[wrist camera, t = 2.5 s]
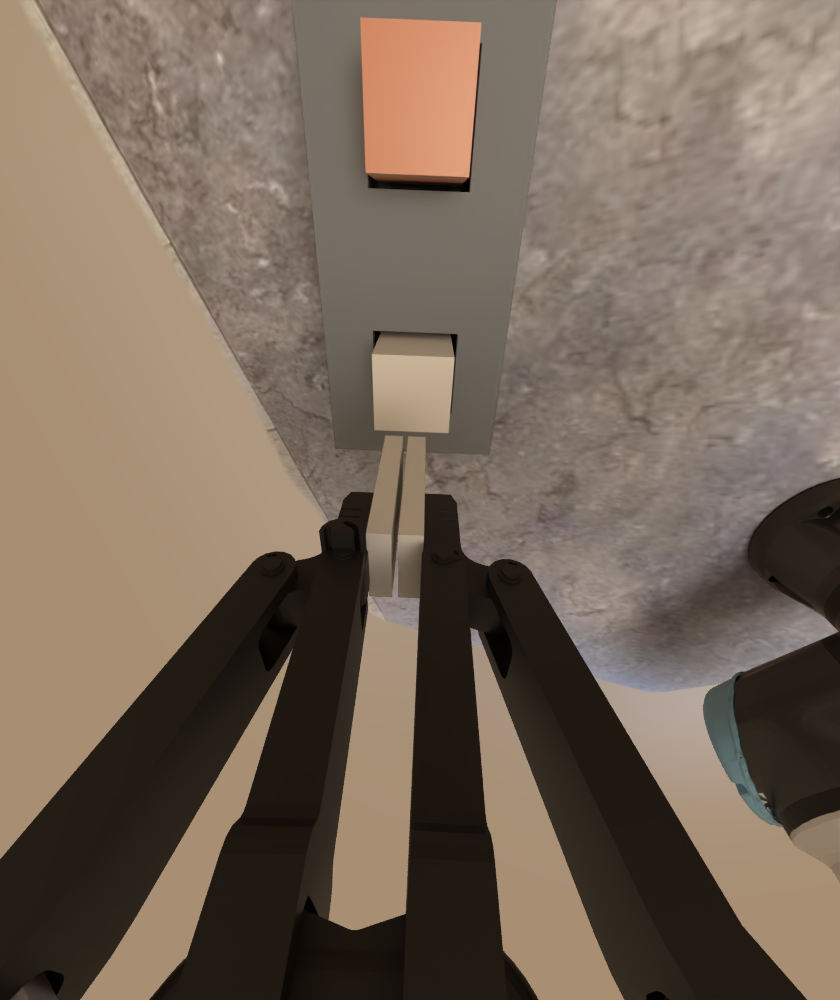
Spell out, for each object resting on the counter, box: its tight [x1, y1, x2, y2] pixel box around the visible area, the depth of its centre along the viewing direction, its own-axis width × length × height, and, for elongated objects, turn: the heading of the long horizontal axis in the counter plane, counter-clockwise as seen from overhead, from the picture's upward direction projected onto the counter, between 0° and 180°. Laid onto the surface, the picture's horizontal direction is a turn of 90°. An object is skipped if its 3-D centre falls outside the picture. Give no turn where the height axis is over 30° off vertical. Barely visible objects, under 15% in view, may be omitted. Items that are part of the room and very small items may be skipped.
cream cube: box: [372, 331, 455, 433], centre depth 28 cm, size 5×5×7 cm
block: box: [292, 0, 557, 455], centre depth 28 cm, size 25×12×8 cm, turn 178°
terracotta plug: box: [360, 17, 482, 186], centre depth 20 cm, size 5×5×7 cm
